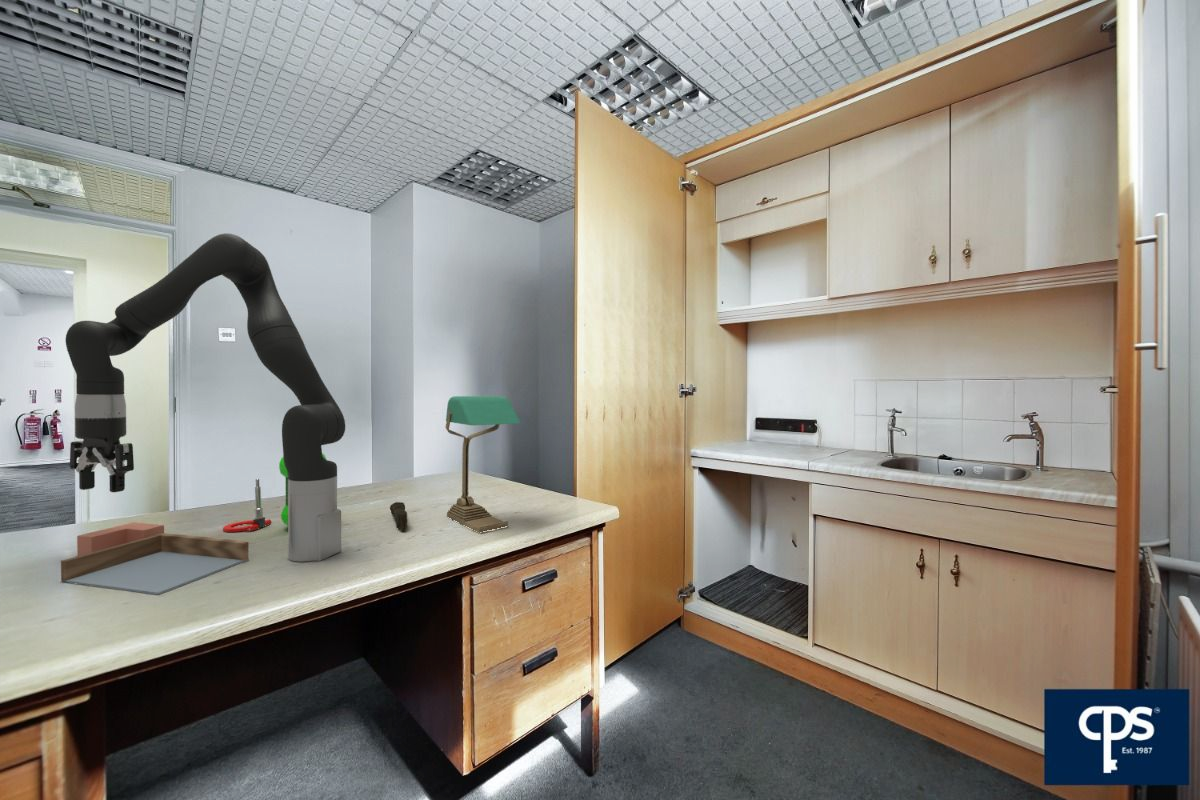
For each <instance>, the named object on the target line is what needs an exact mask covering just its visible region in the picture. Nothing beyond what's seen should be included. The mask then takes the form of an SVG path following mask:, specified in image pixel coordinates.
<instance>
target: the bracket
mask: <svg viewBox="0 0 1200 800" xmlns="http://www.w3.org/2000/svg"><path fill="white" fill-rule="evenodd" d="M161 533H165V525H164V524H156V523H146V522H145V523H144V522H134V521H133V522H128V523H125V524H119V525H117V526H112V527H108V528H104V529H100V530H99V529H98V530H95V531H92V532H87V533H84V534H79V535H77V536H76V546H77V556H81V555H84V554H88V553H92V552H95V551H99V550H103V549H106V548H110V547H114V546H117V545H121V544H125V543H128V542H132V541H136V540H139V539H143V538H147V537H150V536H154V535H158V534H161Z"/></svg>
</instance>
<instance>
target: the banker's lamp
mask: <svg viewBox="0 0 1200 800" xmlns="http://www.w3.org/2000/svg"><path fill="white" fill-rule="evenodd" d="M517 414H518V413H516V410H515V408H514V406H513V404H512V403H511V401H510V399H509V398H507V397H506V396H499V395H497V396H496V395H491V396H489V395H483V396H481V395H479V396H478V395H475V396H473V395H472V396H471V395H470V396H469V395H467V396H466V395H465V396H464V395H463V396H461V395H460V396H458V395H457V396H455V395H453V396H452V397H449V399H448V401H447V408H446V415H445V416H446V417H445V423H446V424H445V430H446V431H447V432H448V434H450V435H454V436H457V437H460V438H463V442H462V461H461V462H462V463H461V464H462V465H461V466H462V470H461V472H462V473H461V474H462V477H461V479H462V480H461V483H462V484H461V497H459V498H457V500H456V503H453V504H452V505H451V506H450V507H449V509H448V511H447V512H446V518H447V517H449V518H451V519H453V520H455V521H457V522H459V523H461V524H463V525H465V526H467V527H469V528H471V529H473V530H475V531H477V532H479V533H480V532H483V531H487V530H492V529H497V528H501V527H505V526H508V527H509V520H502V519H500V518H498V517H495V516H492V514H491V513H490V512H488V510H487V509H486V508H485V507H483V505H480V504H477V503H475V501H474V499H473V497H472V496H470V495H469V458H470V457H469V452H470V450H469V448H470V442H471V440H473V438H477V437H480V436H483V435H486V434H490V433H492V432H495V431H497V430H499V429H500V425H512V424H513V425H514V424H515V425H516V424H521V423H522V422H521V420H520V418H519V417H518V415H517ZM451 423H454V424H460V425H464V426H465V425H466V426H487V425H488V426H490V425H491V426H492V427H489V428H486V429H483V430H480V431H478V432H475V433H473V434H470V435H468V436H467V437H466V435H463V434H461V433H458V432H456V431H453V430H452V429H450V425H451ZM449 518H448V519H449ZM451 519H450V520H451ZM453 520H452V521H453ZM455 521H454V522H455ZM457 522H456V523H457ZM459 523H458V524H459ZM461 524H460V525H461ZM463 525H462V526H463ZM465 526H464V527H465ZM467 527H466V528H467ZM469 528H468V529H469ZM471 529H470V530H471ZM473 530H472V531H473ZM475 531H474V532H475ZM477 532H476V533H477ZM479 533H478V534H479Z"/></svg>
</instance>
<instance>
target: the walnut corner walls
mask: <svg viewBox="0 0 1200 800" xmlns="http://www.w3.org/2000/svg"><path fill="white" fill-rule="evenodd" d="M161 551H163V552H172V553H181V554H190V555H200V556H209V557H218V558H227V559H236V560H245V559H248V558H249V555H250V553H249V552H250V550H249V541H246V540H238V539H236V540H235V539H226V538H215V537H206V536H196V535H186V534H179V533H178V534H177V533H166V532H164V533H161V534H158V535H154V536H150V537H147V538H143V539H139V540H136V541H132V542H128V543H125V544H121V545H117V546H114V547H110V548H106V549H103V550H99V551H95V552H92V553H88V554H84V555H81V556H78V555H77V556H74V557H70V558H67V559H63V560H60V574H61V575H60V579H61V580H69V579H73V578H76V577H79V576H82V575H86V574H89V573H92V572H95V571H99V570H102V569H105V568H108V567H112V566H115V565H118V564H122V563H125V562H128V561H131V560H135V559H138V558H141V557H144V556H148V555H151V554H154V553H157V552H161ZM61 580H60V581H61ZM61 583H65V581H64V582H63V581H62V582H61Z"/></svg>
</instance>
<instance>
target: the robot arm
mask: <svg viewBox="0 0 1200 800" xmlns="http://www.w3.org/2000/svg"><path fill="white" fill-rule="evenodd" d="M219 276H223V278H226V279H228V280H230V281H231V282H232V283H233V285H234V286H235V287H236V289H237V290H238V292H239V294H240V295H241V298H242V299H243V301H244V303H245V306H246V309H247V321H246V322H247V323H246V328H247V329H246V330H247V334H248V338H249V341H250V342H251V345H252V347H253V349H254V352H255V353H256V356H257V357H258V359H259V360H260V362H261V364H262V365H263V366H264V367H265V368H266V369H267V370H268V371H269V372H270V373H271V374H273V375H274V377H276V378H277V379H278V380H279V381H280V382H282V383H283V384H284V385H285V386H287V388H289V389H290V390H291V392H293V394H294V396H296V398H297V400H298V402H299V404H300V405H295V406H292V407H290V408H289V409H288V410H287V411H286V413H284V416H283V419H282V424H281V441H282V443H281V444H282V453H283V455H282V457H283V458H284V464H285V467H286V469H287V472H288V526H287V531H288V532H287V543H288V544H287V545H288V547H287V549H288V550H287V551H288V552H287V553H288V554H287V555H288V560H290V561H293V562H311V561H322V560H325V559H327V558H329V557H331V556H334V555H335V554H338V553H339V552H342V510H341V509H340V508H339V509H338V466H337V463H336V462H334V461H332V460H326V459H327V458H326V459H325V458H324V457H323V455H322V453H323V449H322V447H323V446H326V445H331V444H335V443H337V442H339V441H340V440H341V439H343V436H345V432H346V420H345V416H344V415H343V412H342V410H341V408H340V407H339V405H338V404H337V402H336V401H335V399H334V397H333V396H332V394H331V392H330V391H329V389H328V388H327V386H326V385H325V383H324V381H323V380H322V378H321V376H320V373H319V371H318V369H317V367H316V366H315V364H314V362H313V360H312V358H311V356H310V354H309V352H308V350H307V348H306V344H305V343H304V341H303V340H304V339H303V338H302V336H301V334H300V332H299V330H298V328H297V327H296V324H295V323H294V321H293V319H292V317H291V315H290V313H289V311H288V308H287V307H286V305H285V303H284V301H283V300H282V298H281V296H280V294H279V291H278V288H277V286H276V282H275V279H274V277H273V273H272V270H271V268H270V265H269V262H268V260H267V258H266V257H265V255H264V254H263V253H262V252H261V251H260V250H259V249H257V248H256V247H254V246H253V245H252V244H250V243H249V242H248V241H246V240H245V239H244V238H242V237H240V236H239V235H237V234H233V233H228V232H227V233H225V232H224V233H220V234H217V235H215V236H213V237H212V238H210V239H208V240H207V241H206V242H204V243H203V244H202V245H200V246H199V247H198V248H197V249H196V250H194V252H192V253H191V254H190V255H189V256H188V257H187V258H185V259H184V260H182V261H181V262H180V263H179V264H178V265H177V266H176V267H175V268H173V270H171V271H169V273H167V275H165V276H164V277H163V278H161V279H160V280H158V281H157V282H156V283H154V284H153V285H151V286H150V287H148V288H146V289H145V290H143V291H141V292H139V293H138V294H135V295H133V296H132V297H131V298H129V299H127V300H125V301H124V302H122V303H120V304H119V305H118V306H117V307H116V308H115V311H114V314H115V318H113V319H112V320H110V321H109V322H100V321H96V320H95V321H94V320H80V321H76V322H75V323H73V324H72V325H71V326H70V327H69V328H68V330H67V331H66V335H65V347H66V351H67V354H68V356H69V359H70V363H71V365H72V368H73V369H74V372H75V374H76V379H75V381H76V385H75V386H76V398H75V402H74V437H75V438H76V439H80V440H76V441H71V442H70V443H69V444H70V447H69V468H70V470H75V471H76V472H77V473H78V474H79V475H78V478H79V479H78V483H79V485H78V487H79V490H82V491H85V490H92V489H94V488H95V487H96V484H95V483H96V478H95V474H96V473H95V471H94V470H95V468H96V467H97V465H98V464H100V465H101V466H102V467H103V468H106V469H107V471H108V473H109V475H108V476H109V492H110V493H119V492H123V491H125V487H126V484H125V482H126V479H125V478H126V477H125V476H126V473H128V472H131V471H132V472H133V471H134V469H135V466H134V465H135V462H134V446H133V443H131V442H129V443H121V440H120V438H123V437H125V436H126V435H127V404H126V403H127V402H126V398H125V397H126V396H125V375H124V371H123V370H121V369H120V368H117V367H116V366H114V365H113V364H112V360H111V357H114V356H119V355H123V354H125V353H127V352H129V351H131V350H132V349H134V348H135V347H136V346H137V345H138V344H140V343H141V342H142V341H143V340H144V339H146V337H147V335H148V334H150V332H151V331H153V330H156V329H157V328H160V327H161V326H162V325H164V324H166V323H167V322H169V321H170V320H172V319H174V318H175V317H177V316H178V315H179V314H180V313H181V312H183V310H184V309H185V307H186V306H187V305H188V303H189V302H190V300H191V298H192V296H193V295H194V294H195V292H197V290H198V289H199V287H201V286H202V285H204V284H205V283H206V282H209V281H210V280H213V279H215V278H217V277H219ZM125 462H126V464H125Z"/></svg>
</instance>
